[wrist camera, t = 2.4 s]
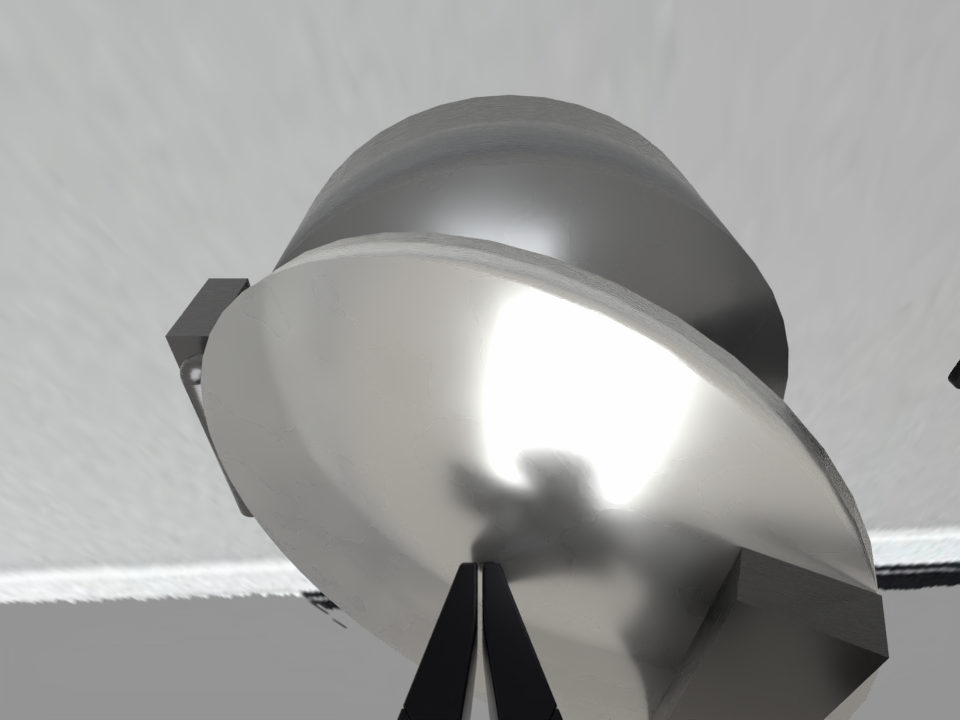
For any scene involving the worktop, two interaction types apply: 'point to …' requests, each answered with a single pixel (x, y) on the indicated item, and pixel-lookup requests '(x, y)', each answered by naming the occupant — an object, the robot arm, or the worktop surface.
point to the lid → (543, 477)
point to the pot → (541, 215)
